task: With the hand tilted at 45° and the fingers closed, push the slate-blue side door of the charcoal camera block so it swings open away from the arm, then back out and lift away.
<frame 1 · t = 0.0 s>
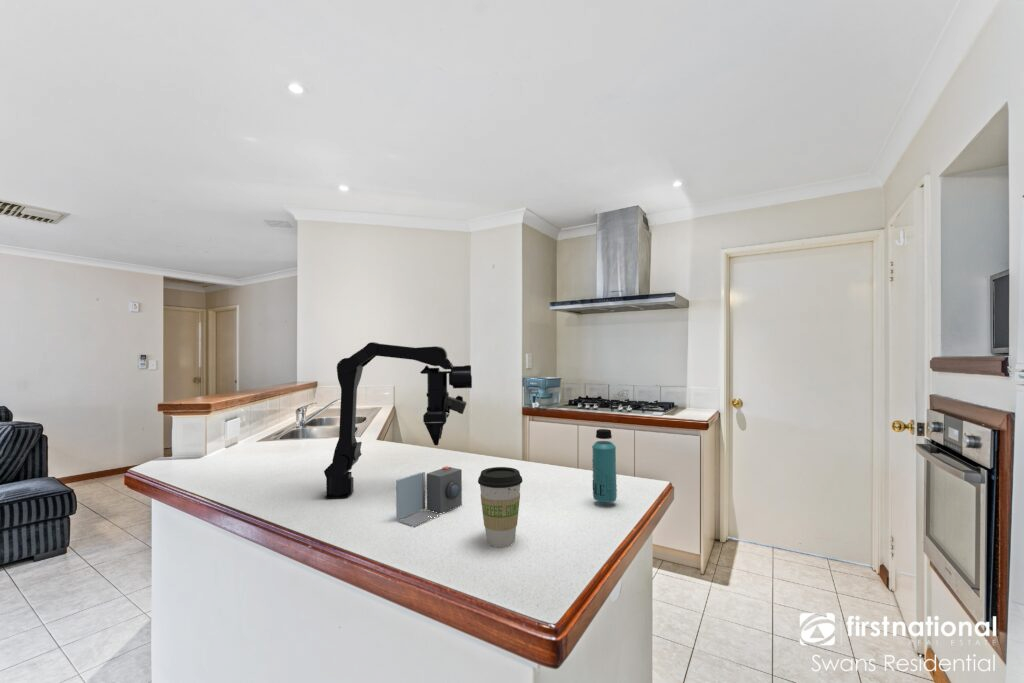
hand: (437, 441, 132), 15 cm above the counter, tool pointing down, fingers open, 9 cm apart
coffee cup: (500, 541, 98), on the counter
beverage bottle: (604, 504, 120), on the counter
side door: (411, 494, 113), point 5 cm above the counter, hinge at 0.0°
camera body: (423, 511, 116), on the counter
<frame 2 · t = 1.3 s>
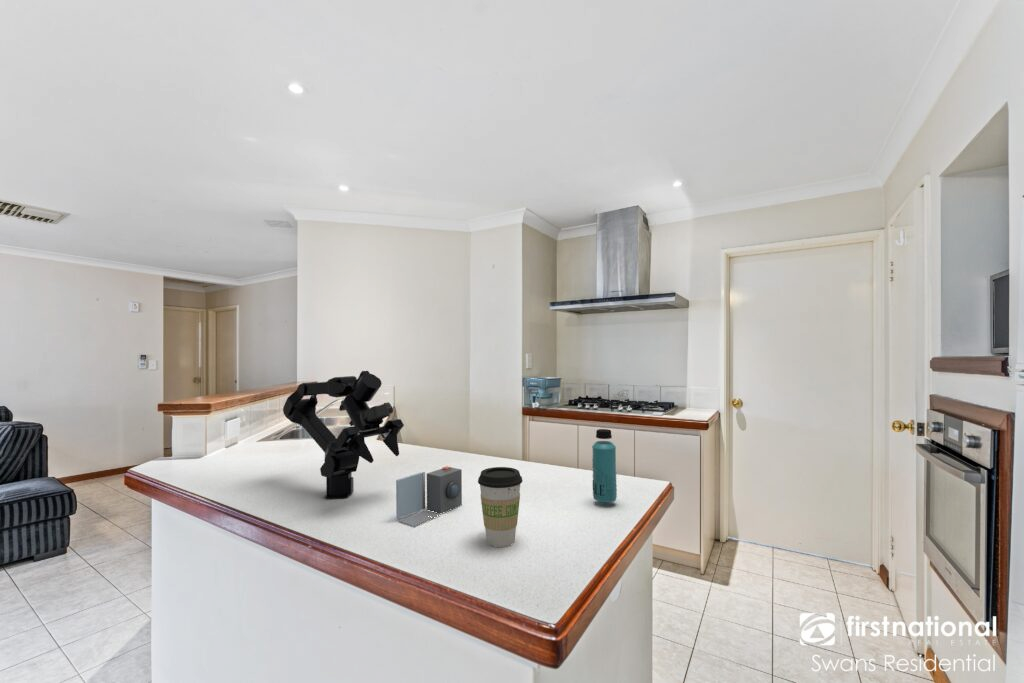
hand: (385, 458, 118), 13 cm above the counter, tool tilted 45°, fingers open, 8 cm apart
nothing on the counter moved.
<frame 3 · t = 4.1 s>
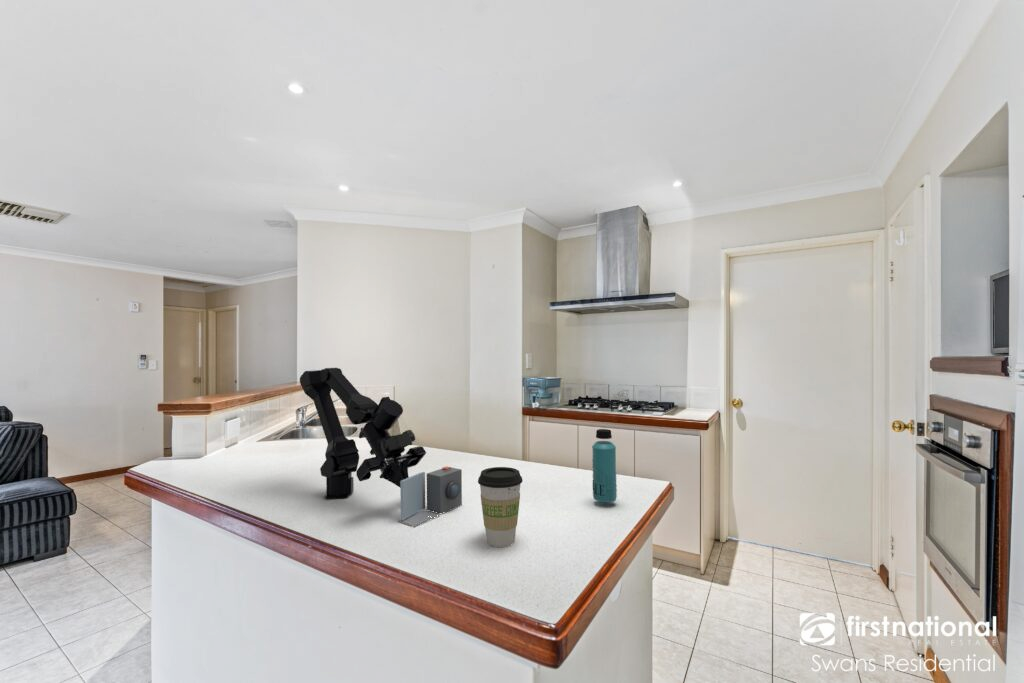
hand: (408, 490, 112), 7 cm above the counter, tool tilted 45°, fingers closed, pressing on side door
side door: (413, 495, 113), point 5 cm above the counter, hinge at 10.8°, touching gripper
everything else where it was.
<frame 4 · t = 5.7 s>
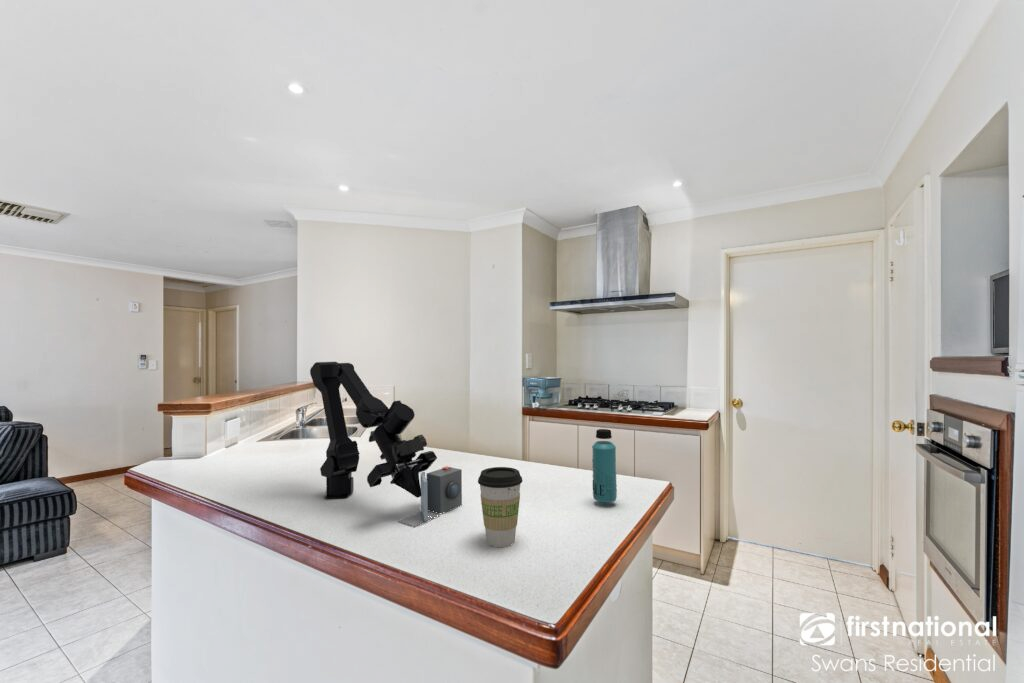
hand: (419, 496, 110), 6 cm above the counter, tool tilted 45°, fingers closed
side door: (424, 495, 113), point 5 cm above the counter, hinge at 53.2°, touching gripper
everything else where it was.
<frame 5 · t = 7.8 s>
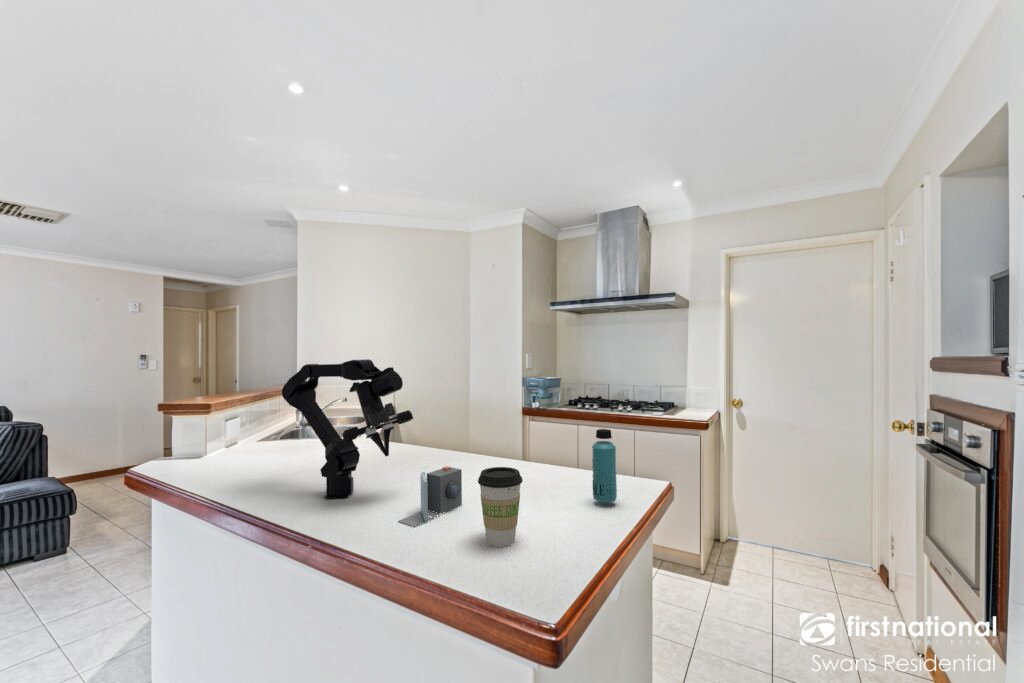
hand: (387, 456, 123), 13 cm above the counter, tool tilted 20°, fingers closed
side door: (424, 495, 113), point 5 cm above the counter, hinge at 53.4°
everything else where it was.
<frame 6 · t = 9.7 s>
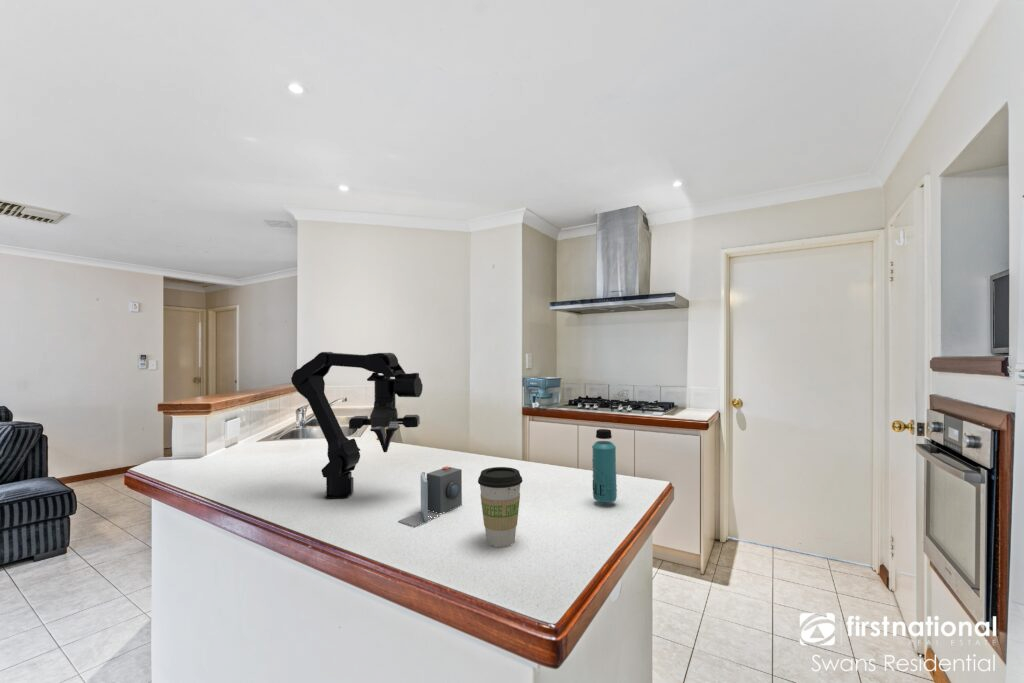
hand: (385, 452, 127), 13 cm above the counter, tool pointing down, fingers closed
nothing on the counter moved.
at the end: side door at +53° (first picture: +0°); coffee cup moved 0.2 cm from its start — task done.
